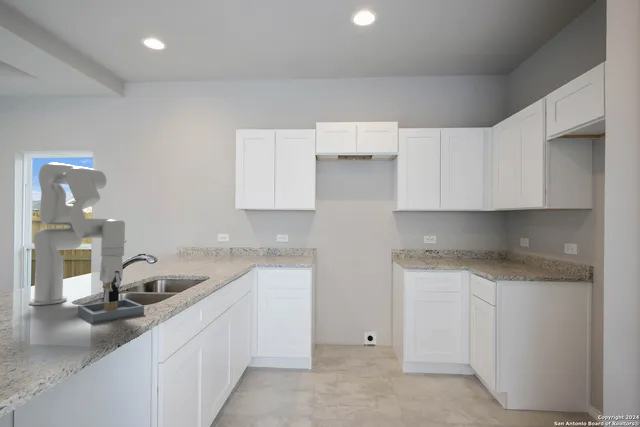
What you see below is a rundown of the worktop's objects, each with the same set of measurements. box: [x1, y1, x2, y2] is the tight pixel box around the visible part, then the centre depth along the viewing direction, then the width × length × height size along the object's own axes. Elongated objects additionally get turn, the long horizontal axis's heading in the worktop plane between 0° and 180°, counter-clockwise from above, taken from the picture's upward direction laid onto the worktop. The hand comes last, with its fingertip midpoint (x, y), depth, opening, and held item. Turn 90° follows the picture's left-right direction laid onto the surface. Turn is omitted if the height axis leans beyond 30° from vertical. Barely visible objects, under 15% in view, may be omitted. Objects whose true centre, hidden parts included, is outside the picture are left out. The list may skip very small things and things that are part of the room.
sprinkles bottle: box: [103, 281, 118, 311], centre depth 130 cm, size 5×5×14 cm
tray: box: [77, 298, 145, 324], centre depth 130 cm, size 17×17×3 cm
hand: (111, 299), depth 130 cm, fingers closed on sprinkles bottle, 4 cm apart
